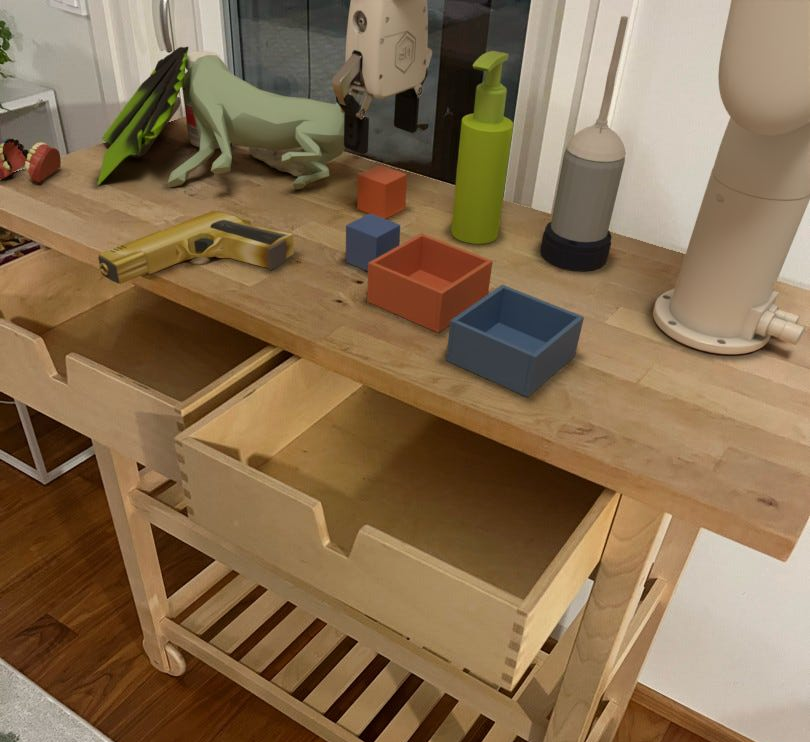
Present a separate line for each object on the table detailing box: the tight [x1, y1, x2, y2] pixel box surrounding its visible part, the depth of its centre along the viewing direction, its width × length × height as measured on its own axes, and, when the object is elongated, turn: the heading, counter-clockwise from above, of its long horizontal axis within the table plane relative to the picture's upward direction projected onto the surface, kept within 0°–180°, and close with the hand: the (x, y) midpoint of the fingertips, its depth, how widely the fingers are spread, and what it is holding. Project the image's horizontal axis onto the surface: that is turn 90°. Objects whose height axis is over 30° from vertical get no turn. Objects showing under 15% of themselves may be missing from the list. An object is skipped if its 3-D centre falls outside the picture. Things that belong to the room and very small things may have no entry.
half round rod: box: [129, 96, 182, 158], centre depth 119 cm, size 4×20×2 cm, turn 179°
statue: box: [167, 55, 346, 190], centre depth 109 cm, size 27×13×20 cm
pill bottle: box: [181, 50, 232, 150], centre depth 114 cm, size 6×6×11 cm
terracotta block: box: [356, 164, 408, 219], centre depth 105 cm, size 4×4×4 cm
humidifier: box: [539, 15, 629, 272], centre depth 91 cm, size 8×8×25 cm
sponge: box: [248, 147, 324, 178], centre depth 114 cm, size 12×5×4 cm
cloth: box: [97, 46, 189, 186], centre depth 109 cm, size 20×22×2 cm
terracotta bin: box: [366, 233, 494, 334], centre depth 89 cm, size 10×10×4 cm
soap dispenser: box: [450, 50, 514, 245], centre depth 95 cm, size 6×7×20 cm
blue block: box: [345, 213, 401, 272], centre depth 94 cm, size 4×4×4 cm
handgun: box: [97, 210, 295, 285], centre depth 92 cm, size 2×19×12 cm
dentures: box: [0, 137, 62, 183], centre depth 106 cm, size 6×4×8 cm
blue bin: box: [445, 284, 585, 398], centre depth 82 cm, size 10×10×4 cm
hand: (381, 139), depth 100 cm, fingers open, 9 cm apart
